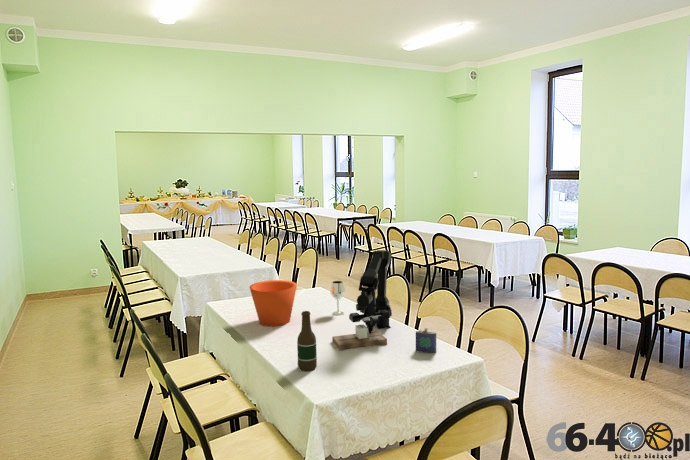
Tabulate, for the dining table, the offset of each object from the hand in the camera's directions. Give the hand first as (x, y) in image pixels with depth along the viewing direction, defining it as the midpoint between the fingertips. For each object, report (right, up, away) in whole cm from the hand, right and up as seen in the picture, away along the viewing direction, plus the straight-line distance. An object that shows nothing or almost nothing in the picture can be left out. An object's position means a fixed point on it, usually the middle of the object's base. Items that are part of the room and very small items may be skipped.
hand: (369, 333), depth 240 cm
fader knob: (-4, -1, -1) cm, 4 cm away
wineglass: (-16, +2, +46) cm, 48 cm away
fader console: (-5, -4, -1) cm, 7 cm away
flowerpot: (-49, -1, +33) cm, 60 cm away
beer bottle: (-27, -9, -28) cm, 40 cm away
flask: (+24, -6, -13) cm, 28 cm away
